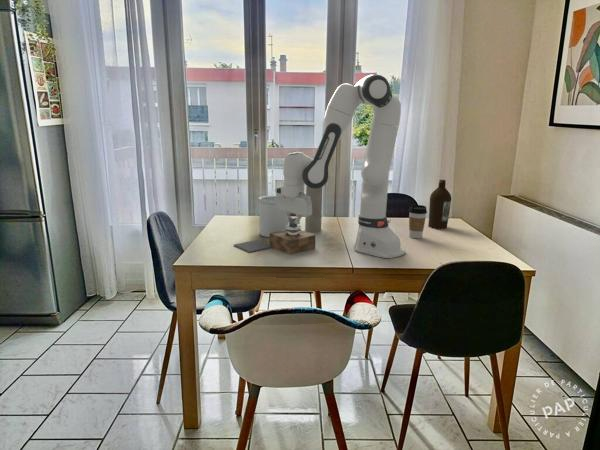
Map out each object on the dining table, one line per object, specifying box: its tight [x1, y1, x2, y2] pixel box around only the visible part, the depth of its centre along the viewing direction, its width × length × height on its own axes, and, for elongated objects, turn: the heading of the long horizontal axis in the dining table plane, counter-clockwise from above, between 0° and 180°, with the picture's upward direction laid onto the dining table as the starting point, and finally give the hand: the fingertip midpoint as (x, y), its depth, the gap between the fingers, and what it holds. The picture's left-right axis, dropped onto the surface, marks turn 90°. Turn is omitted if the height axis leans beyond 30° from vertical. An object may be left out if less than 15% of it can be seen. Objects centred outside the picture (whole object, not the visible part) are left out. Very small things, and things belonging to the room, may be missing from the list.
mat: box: [233, 239, 274, 254], centre depth 186 cm, size 12×12×1 cm
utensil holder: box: [258, 195, 289, 238], centre depth 204 cm, size 15×15×18 cm
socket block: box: [269, 229, 317, 255], centre depth 185 cm, size 14×14×6 cm
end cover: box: [286, 216, 302, 236], centre depth 184 cm, size 6×6×9 cm
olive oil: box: [427, 179, 452, 230], centre depth 223 cm, size 11×11×25 cm
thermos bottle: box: [304, 185, 324, 233], centre depth 212 cm, size 8×8×28 cm
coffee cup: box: [408, 204, 428, 239], centre depth 205 cm, size 8×8×15 cm
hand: (293, 223), depth 183 cm, fingers closed on end cover, 3 cm apart
